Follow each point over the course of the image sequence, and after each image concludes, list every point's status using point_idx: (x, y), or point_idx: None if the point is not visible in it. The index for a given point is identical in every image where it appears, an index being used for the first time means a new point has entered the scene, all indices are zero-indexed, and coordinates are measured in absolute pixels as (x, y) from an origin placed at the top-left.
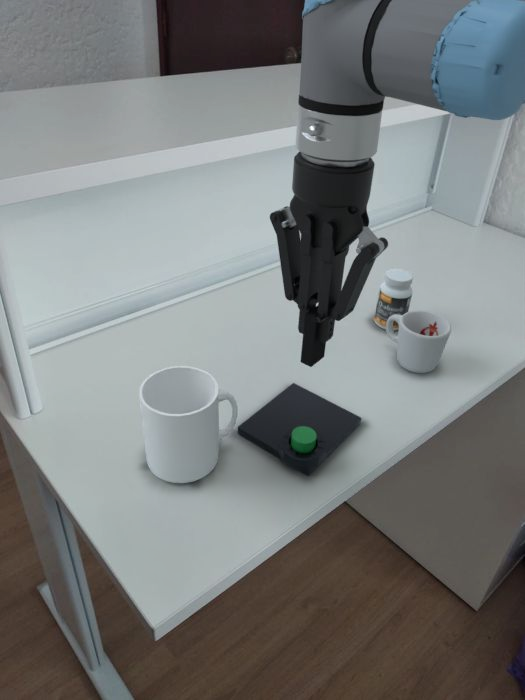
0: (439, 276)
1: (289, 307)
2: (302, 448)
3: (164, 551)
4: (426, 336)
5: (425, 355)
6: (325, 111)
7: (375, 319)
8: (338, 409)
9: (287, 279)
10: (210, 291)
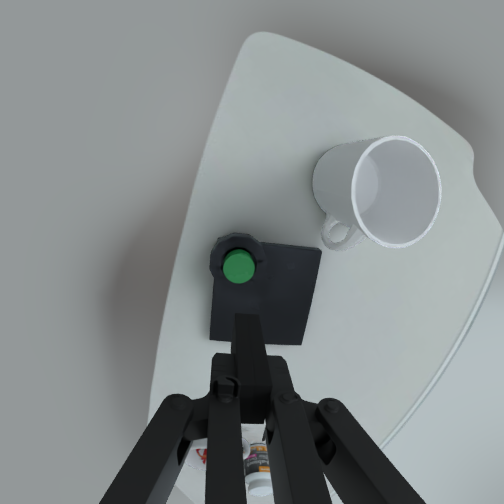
0: (248, 494)
1: None
2: (232, 252)
3: (290, 78)
4: (195, 448)
5: None
6: None
7: None
8: None
9: (353, 438)
10: (423, 391)
